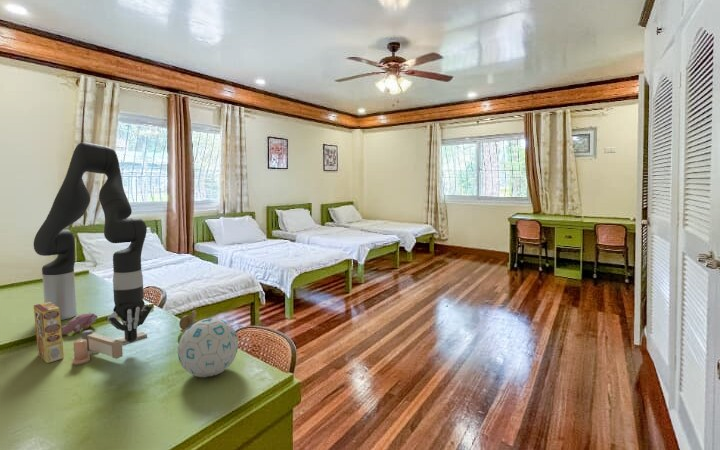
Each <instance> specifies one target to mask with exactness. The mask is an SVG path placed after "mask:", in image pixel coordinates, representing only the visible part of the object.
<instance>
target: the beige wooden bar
mask: <svg viewBox="0 0 720 450" xmlns="http://www.w3.org/2000/svg"><path fill="white" fill-rule="evenodd" d="M81 339H86V340H87V350H93V351H96V352H97V353H99V354H102V355H105V356H109V357H112V358H113V359H115V360H116V359H117V360H118V359H120V358H121V357H124V356H123V355H124V353H123V344H122V341H119V340H116V338H112V337H109V336H105V335H101V334H98V333H95V332H94V331H93V330H92V329H87V330H86V329H85V330H83V331H82V332H81Z"/></svg>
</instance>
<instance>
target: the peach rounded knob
mask: <svg viewBox="0 0 720 450" xmlns="http://www.w3.org/2000/svg"><path fill="white" fill-rule="evenodd" d="M73 353H74V354H73V356H74V358H72V364H73V365H75V366H77V365H78V366H79V365H83V364H86V363H88V362H91V355H88V352H87V340H86V339H82V338H81V339H77V340H75V341H73Z"/></svg>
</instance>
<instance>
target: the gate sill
mask: <svg viewBox="0 0 720 450" xmlns="http://www.w3.org/2000/svg"><path fill="white" fill-rule="evenodd" d="M147 337H148V333H146V332H144V331H142V330H140V331H137V338H136V340H135V341H138V340H142V339H144V338H147ZM115 339H116V340H119V341H122V345H124V344H128V343H130V342H127V340H125V335H123V336H120V337H117V338H115ZM87 352H88V355H89V356H91V355H93V354H96V353H98V352H96V351H93V350H87Z"/></svg>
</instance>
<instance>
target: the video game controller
mask: <svg viewBox="0 0 720 450" xmlns="http://www.w3.org/2000/svg"><path fill="white" fill-rule="evenodd" d="M97 320H98V315H96V314H95V313H91V312H88V313H83V314H80V315H78V316H75V318H74V317H73V318H71V320H70V321H68V322H67V324H66V325H64V326H63V327H61V330H62V336H64V335H65V336H66V335H69V334H70V333H71V332H72V331H73V332H74V333H75V334H77V333H80V332H81V330H82V329H83V330H86V329H87V330H88V329H89V328H90V326H91V325H92V324H94V323H95V322H96V321H97Z"/></svg>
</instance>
